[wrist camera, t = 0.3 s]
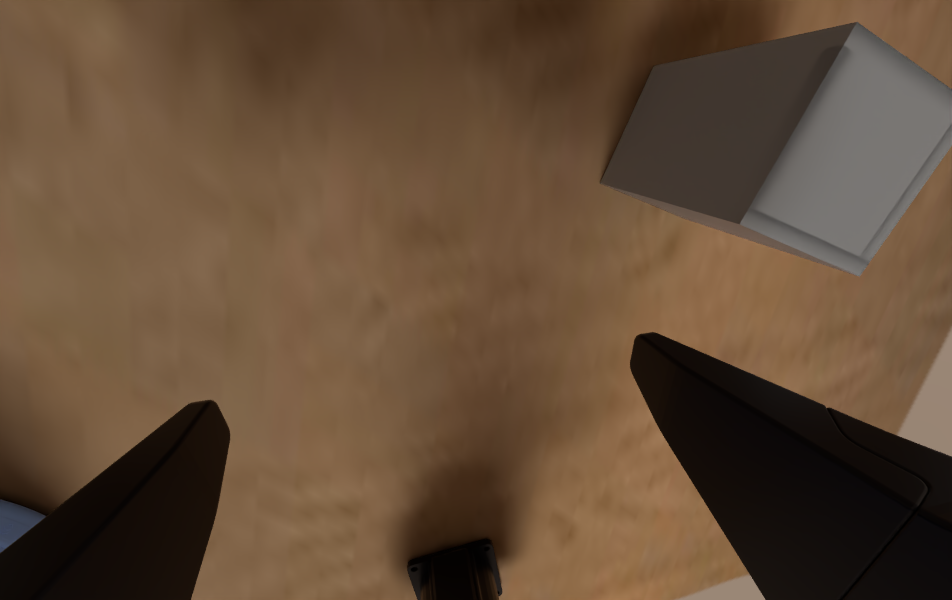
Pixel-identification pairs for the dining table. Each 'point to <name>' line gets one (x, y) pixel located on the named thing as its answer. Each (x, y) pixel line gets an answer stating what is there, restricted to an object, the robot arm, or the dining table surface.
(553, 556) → the dining table surface
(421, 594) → the robot arm
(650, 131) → the grey bordered box
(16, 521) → the water jug
